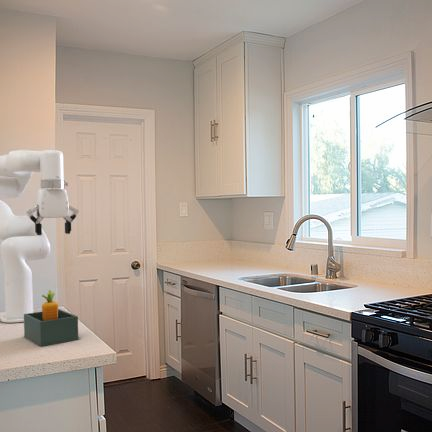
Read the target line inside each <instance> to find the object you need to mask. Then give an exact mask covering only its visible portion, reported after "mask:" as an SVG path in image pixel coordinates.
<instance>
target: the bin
mask: <svg viewBox="0 0 432 432" xmlns="http://www.w3.org/2000/svg"><path fill="white" fill-rule="evenodd" d="M23 331H24V334H23V336H24V338H25V339H27V340H29V341H31V342H33V343H34V344H35V345H38V346H39V347H45V346H51V345H57V344H61V343H68V342H73V341H78V340H79V316H77V315H76V314H74V313H70V312H68V311H66V310H63V309H61V308H58V319H54V320H48V321H43V316H42V311H36V312H33V313H28V314H24V322H23Z"/></svg>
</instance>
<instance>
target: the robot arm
mask: <svg viewBox="0 0 432 432" xmlns="http://www.w3.org/2000/svg"><path fill="white" fill-rule="evenodd" d="M64 165H65V164H64V153H63V151H61V150H57V149H43V150H34V149H33V150H32V149H17V150H11V151H9V152H8V153H7V154H1V155H0V240H2V242H1V243H0V256H1V260H2V266H3V283H4V284H3V285H4V316H1V317H0V322H2V323H9V324H10V323H11V324H15V323H24V314H28V313H34V297H33V293H34V291H33V273H32V269H31V268H30V266H28V264H27V263H26V262H29V261H38V260H44V259H46V258H47V257H49V255H50V254H51V243H50V240H49V239H48V236H47V234H46V233H45V230H44V229H43V225H42V223H41V222H42V221H43V219H53V218H54V219H55V218H56V219H59V218H62V219H63V220H64V221H65V222H64V233H65V234H67V235H70V234H71V232H72V223H73V221H74V220H75V219H76V218H77V216H78V213H79V209H77V208H75V207H73V206H70V203H69V198H68V193H67V189H65V188H66V187H69V183H68V182H67V181H65V174H64V173H65V168H64V167H65V166H64ZM34 173H39V175H40V177H39V179H40V189H37V194H36V203H35V206H33V207H32V208H30V209H28V210H26V215H17V214H14V213H13V211H12V209H11V207H10V206H9V204H7V203H6V202H5V201H3V200H1V198H3V199H4V198H7V199H9V198H12V199H13V198H19V197H21V196H22V195H23V194H24V193H25V191H26V189H27V188H28V185H29V183H30V181H31V179H32V177H33V175H34ZM70 212H71V213H72V214H71V215H70ZM33 213H35V215H36V217H35V216H34V214H33Z"/></svg>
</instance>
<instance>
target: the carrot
mask: <svg viewBox="0 0 432 432" xmlns="http://www.w3.org/2000/svg"><path fill="white" fill-rule="evenodd" d="M54 296H55V292H54V291H52V290H51V289H50V290H48V293H47V295H46V294H41V297H43V298H44V299H45V300H46V301H45V302H44V303H42V305H41V312H42V316H43V321H48V320H54V319H58V309H59V303H58V302H57V301H53V299H54Z"/></svg>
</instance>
